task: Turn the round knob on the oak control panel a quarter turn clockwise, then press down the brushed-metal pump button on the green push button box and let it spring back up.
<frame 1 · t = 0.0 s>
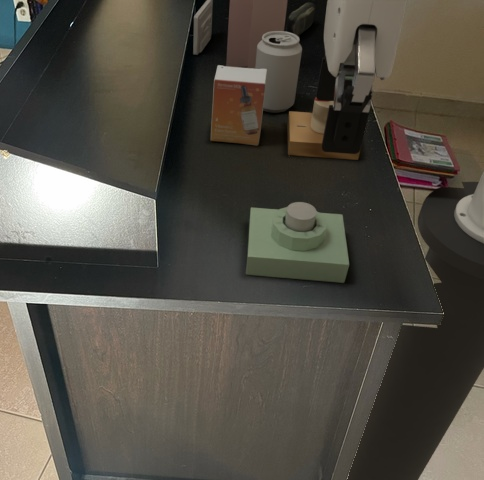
hand: (335, 123, 53), 22 cm above the table, tool pointing down, fingers open, 9 cm apart
panel: (321, 141, 94), on the table
pump button: (300, 217, 70), point 6 cm above the table, slide at 0.1 cm
can: (272, 106, 104), on the table
green push button box: (294, 252, 74), on the table
cassette: (202, 45, 123), on the table
small box: (235, 136, 95), on the table
dial: (326, 113, 91), point 5 cm above the table, hinge at 0.0°
dark ridged elongated shape: (297, 34, 129), on the table
greeting card: (257, 72, 114), on the table
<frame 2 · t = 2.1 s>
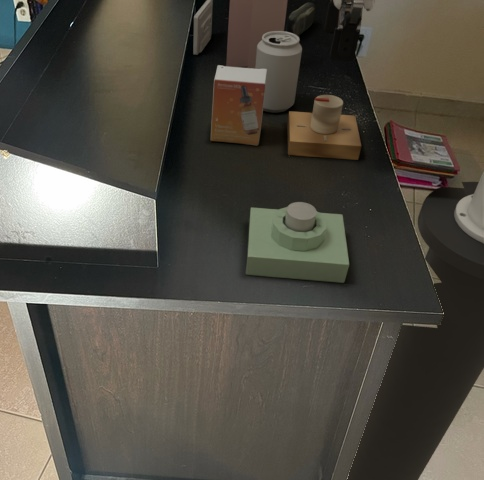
hand: (338, 45, 81), 17 cm above the table, tool pointing down, fingers open, 9 cm apart
nothing on the table moved.
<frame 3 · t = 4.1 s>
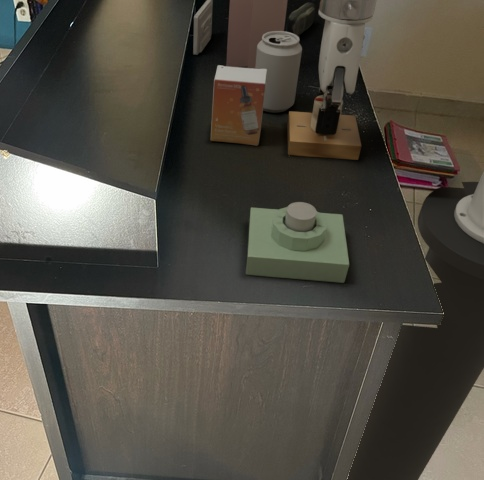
hand: (324, 124, 92), 3 cm above the table, tool pointing down, fingers closed on dial, 4 cm apart
dial: (326, 113, 91), point 5 cm above the table, hinge at -0.1°, touching gripper
everything else where it was.
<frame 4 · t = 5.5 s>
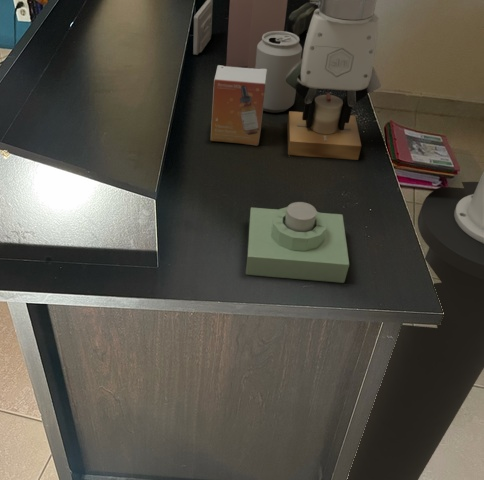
hand: (324, 124, 92), 3 cm above the table, tool pointing down, fingers closed on dial, 4 cm apart
dial: (326, 113, 91), point 5 cm above the table, hinge at -90.6°, touching gripper
everything else where it was.
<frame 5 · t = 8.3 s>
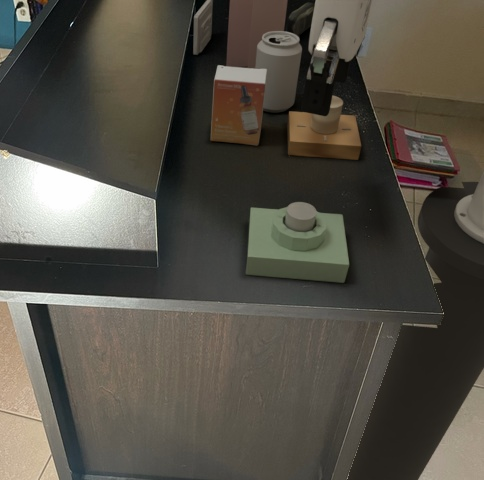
hand: (324, 95, 70), 16 cm above the table, tool pointing down, fingers open, 9 cm apart
dial: (326, 113, 91), point 5 cm above the table, hinge at -90.6°
everything else where it was.
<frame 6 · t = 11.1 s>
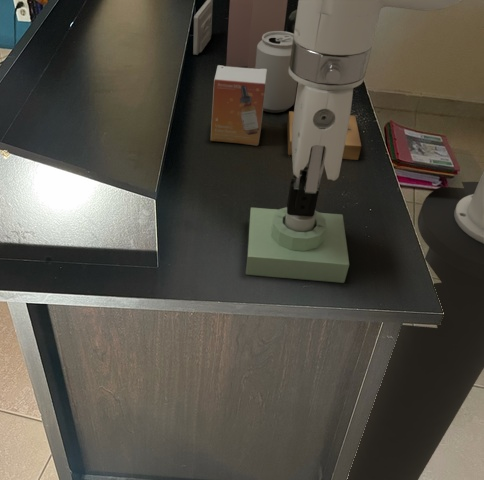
hand: (299, 211, 69), 7 cm above the table, tool pointing down, fingers closed
pump button: (300, 218, 70), point 5 cm above the table, slide at -0.1 cm, touching gripper
everything else where it was.
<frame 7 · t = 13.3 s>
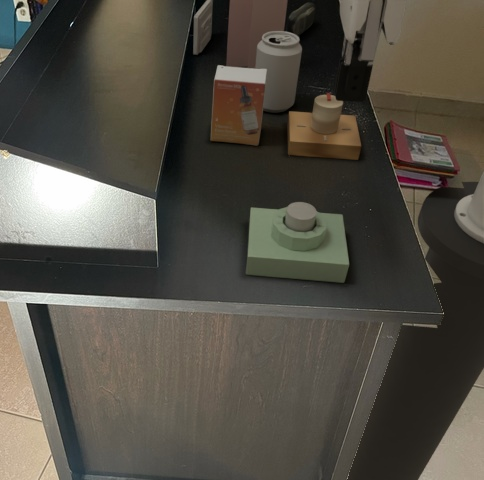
hand: (349, 97, 63), 20 cm above the table, tool pointing down, fingers closed
pump button: (300, 217, 70), point 6 cm above the table, slide at 0.1 cm
everything else where it was.
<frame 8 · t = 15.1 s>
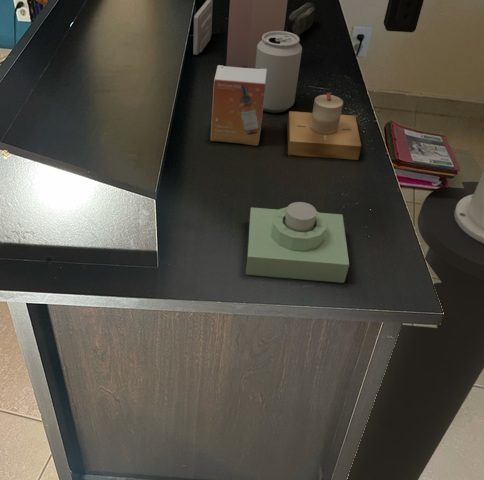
hand: (398, 28, 62), 25 cm above the table, tool pointing down, fingers closed
nothing on the table moved.
at the end: dial at -91° (first picture: +0°); pump button pushed in 1.3 cm at the most during the clip, back to where it started at the end; pump button slide at 0.1 cm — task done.
